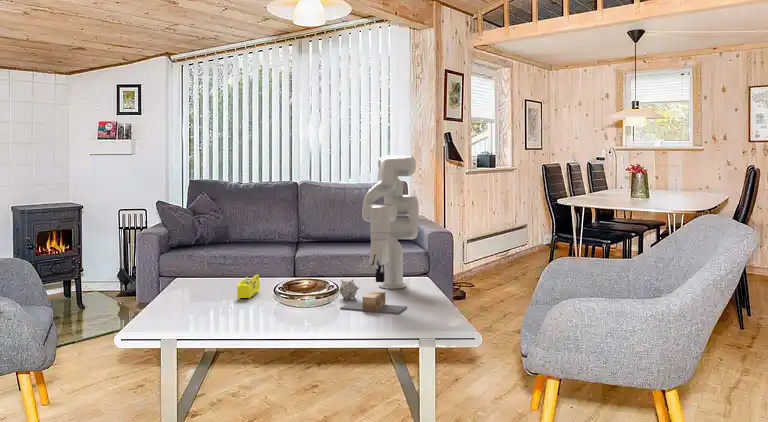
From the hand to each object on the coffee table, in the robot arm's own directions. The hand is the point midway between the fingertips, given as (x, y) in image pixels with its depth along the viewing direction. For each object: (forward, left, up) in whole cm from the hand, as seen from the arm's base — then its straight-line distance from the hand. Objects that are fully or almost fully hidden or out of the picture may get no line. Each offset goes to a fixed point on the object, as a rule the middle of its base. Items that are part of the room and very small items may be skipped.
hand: (380, 281), depth 236 cm
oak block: (+1, 0, -6) cm, 6 cm away
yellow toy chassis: (+4, -59, -10) cm, 60 cm away
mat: (+7, 0, -9) cm, 12 cm away
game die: (-5, -16, -10) cm, 19 cm away
